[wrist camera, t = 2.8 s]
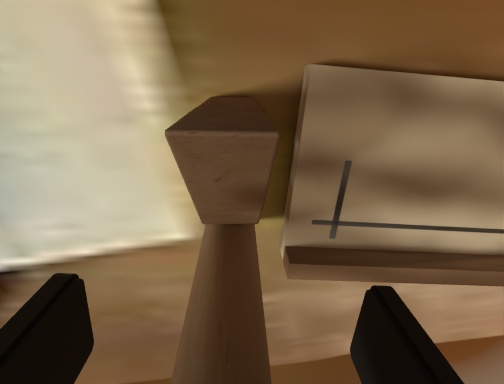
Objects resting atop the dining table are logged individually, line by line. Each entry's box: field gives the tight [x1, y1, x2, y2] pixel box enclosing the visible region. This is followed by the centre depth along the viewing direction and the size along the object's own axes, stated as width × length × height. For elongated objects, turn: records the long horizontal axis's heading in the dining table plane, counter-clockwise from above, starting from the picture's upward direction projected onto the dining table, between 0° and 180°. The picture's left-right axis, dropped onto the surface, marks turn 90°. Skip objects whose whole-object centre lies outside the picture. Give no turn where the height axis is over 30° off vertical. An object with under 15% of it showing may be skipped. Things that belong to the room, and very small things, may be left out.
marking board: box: [280, 64, 504, 286], centre depth 23 cm, size 16×28×4 cm, turn 85°
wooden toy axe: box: [165, 97, 281, 384], centre depth 15 cm, size 4×11×18 cm, turn 179°
